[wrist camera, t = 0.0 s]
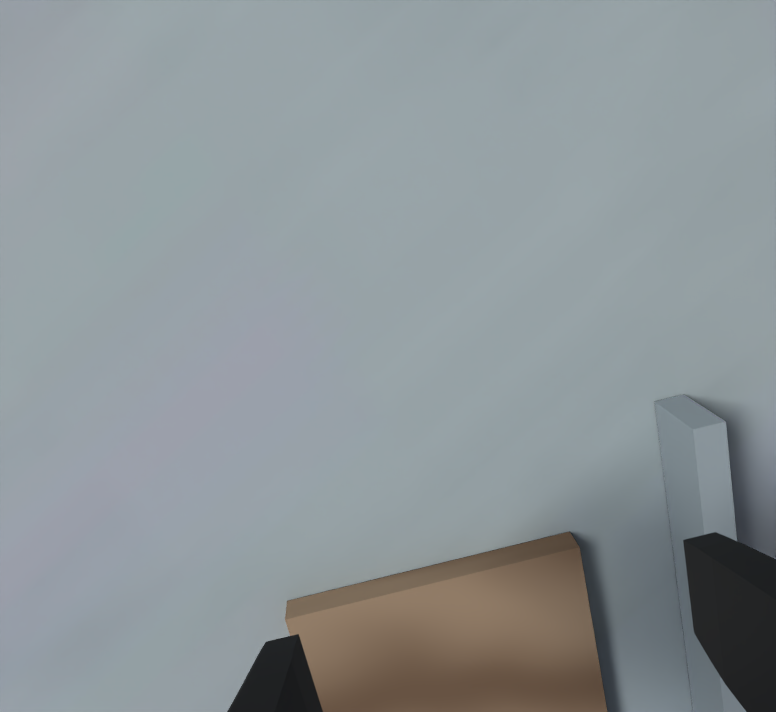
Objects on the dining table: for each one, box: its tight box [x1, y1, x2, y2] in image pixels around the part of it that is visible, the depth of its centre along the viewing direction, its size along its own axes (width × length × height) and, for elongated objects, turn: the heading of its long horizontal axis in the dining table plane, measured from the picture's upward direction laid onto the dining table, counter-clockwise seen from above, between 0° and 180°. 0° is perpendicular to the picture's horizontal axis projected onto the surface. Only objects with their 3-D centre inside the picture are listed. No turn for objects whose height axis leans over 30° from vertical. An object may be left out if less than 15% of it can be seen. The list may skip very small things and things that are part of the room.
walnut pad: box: [285, 532, 607, 712], centre depth 24 cm, size 10×10×1 cm
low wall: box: [654, 394, 746, 712], centre depth 24 cm, size 20×1×2 cm, turn 13°
